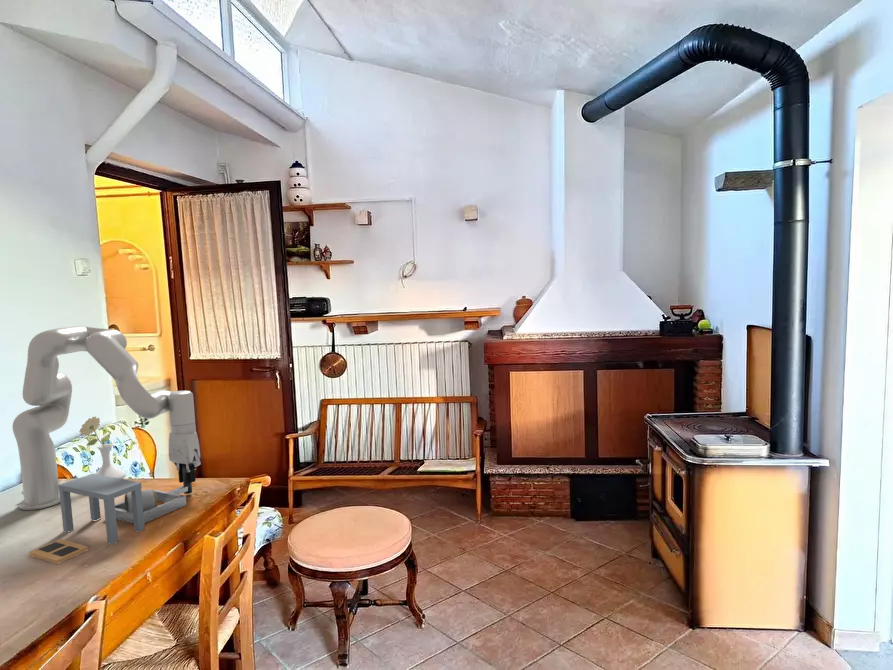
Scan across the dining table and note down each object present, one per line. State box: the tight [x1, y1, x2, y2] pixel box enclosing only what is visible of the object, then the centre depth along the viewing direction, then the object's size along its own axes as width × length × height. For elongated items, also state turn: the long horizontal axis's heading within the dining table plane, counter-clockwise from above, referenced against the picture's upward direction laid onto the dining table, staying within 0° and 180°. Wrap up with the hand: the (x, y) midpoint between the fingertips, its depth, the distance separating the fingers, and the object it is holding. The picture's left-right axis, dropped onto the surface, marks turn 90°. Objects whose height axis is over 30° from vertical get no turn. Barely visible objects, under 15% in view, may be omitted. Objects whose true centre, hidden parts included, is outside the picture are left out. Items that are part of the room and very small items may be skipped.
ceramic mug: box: [124, 489, 158, 512], centre depth 173 cm, size 11×8×8 cm
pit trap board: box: [28, 538, 89, 565], centre depth 149 cm, size 12×8×1 cm, turn 64°
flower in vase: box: [78, 416, 127, 480], centre depth 201 cm, size 13×11×25 cm
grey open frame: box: [115, 464, 193, 525], centre depth 177 cm, size 15×24×10 cm, turn 154°
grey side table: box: [58, 473, 146, 545], centre depth 161 cm, size 22×10×14 cm, turn 64°
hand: (187, 481), depth 187 cm, fingers closed on grey open frame, 2 cm apart
